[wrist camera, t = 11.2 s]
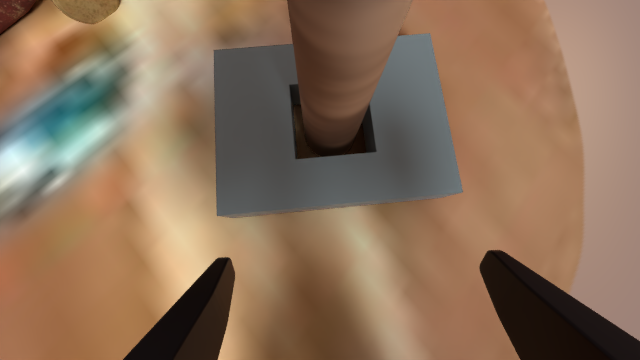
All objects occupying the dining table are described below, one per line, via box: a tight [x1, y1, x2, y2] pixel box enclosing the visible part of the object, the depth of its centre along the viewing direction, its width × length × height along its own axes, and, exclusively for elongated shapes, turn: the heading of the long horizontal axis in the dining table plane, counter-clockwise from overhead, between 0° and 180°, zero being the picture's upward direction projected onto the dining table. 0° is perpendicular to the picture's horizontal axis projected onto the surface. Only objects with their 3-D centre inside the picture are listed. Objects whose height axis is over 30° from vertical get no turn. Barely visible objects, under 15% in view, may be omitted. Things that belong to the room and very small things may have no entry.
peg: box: [287, 0, 413, 157], centre depth 13 cm, size 4×4×15 cm
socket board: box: [214, 33, 463, 218], centre depth 19 cm, size 12×16×3 cm
